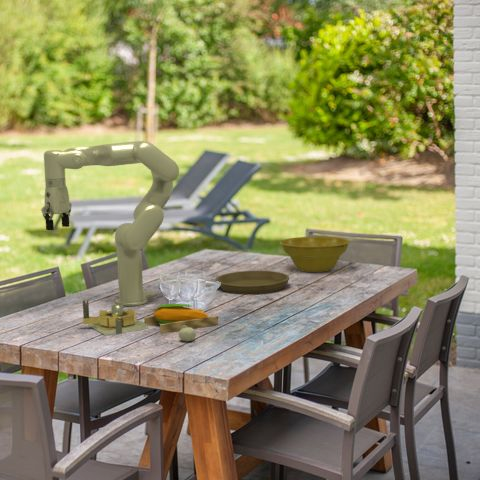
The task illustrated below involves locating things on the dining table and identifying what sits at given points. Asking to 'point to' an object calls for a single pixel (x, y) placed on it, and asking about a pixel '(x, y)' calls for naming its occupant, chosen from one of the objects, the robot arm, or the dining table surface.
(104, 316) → the tan angular piece
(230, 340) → the dining table surface
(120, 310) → the housing plate
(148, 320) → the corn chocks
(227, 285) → the plant saucer
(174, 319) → the corn
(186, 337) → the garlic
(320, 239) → the planter bowl
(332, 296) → the dining table surface
